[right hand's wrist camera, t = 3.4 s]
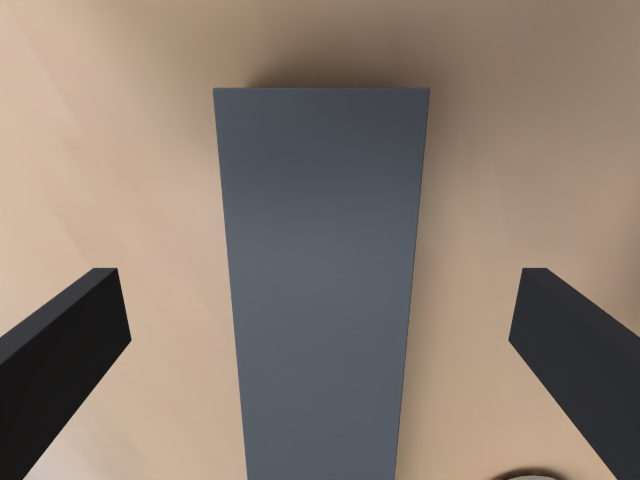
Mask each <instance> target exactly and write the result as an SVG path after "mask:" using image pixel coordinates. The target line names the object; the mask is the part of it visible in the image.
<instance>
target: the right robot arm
mask: <svg viewBox="0 0 640 480" xmlns="http://www.w3.org/2000/svg"><path fill="white" fill-rule="evenodd" d="M130 342H131V335H130V330H129V325H128V320H127V315H126V310H125V305H124V299H123V294H122V289H121V284H120V279H119V274H118V269H117V268H93V269H92V270H90V271H89V272H88V273H86V274H85V275H83V276H82V277H81V278H79V279H78V280H77V281H75V282H74V283H73V284H71V285H70V286H69V287H67V288H66V289H65V290H63V291H62V292H61V293H59V294H58V295H57V296H55V297H54V298H53V299H51V300H50V301H49V302H47V303H46V304H45V305H43V306H42V307H41V308H39V309H38V310H37V311H35V312H34V313H32V314H31V315H30V316H28V317H27V318H26V319H24V320H23V321H22V322H20V323H19V324H18V325H16V326H15V327H14V328H12V329H11V330H10V331H8V332H7V333H6V334H4V335H3V336H2V337H0V480H23V479H24V477H25V476H26V475H27V473H28V472H29V471H30V470H31V468H32V467H33V466H34V465H35V463H36V462H37V461H38V459H39V458H40V457H41V456H42V454H43V453H44V452H45V450H46V449H47V448H48V447H49V445H50V444H51V443H52V441H53V440H54V439H55V438H56V436H57V435H58V434H59V433H60V431H61V430H62V429H63V427H64V426H65V425H66V424H67V422H68V421H69V420H70V418H71V417H72V416H73V415H74V413H75V412H76V411H77V410H78V408H79V407H80V406H81V404H82V403H83V402H84V401H85V399H86V398H87V397H88V395H89V394H90V393H91V392H92V390H93V389H94V388H95V386H96V385H97V384H98V383H99V381H100V380H101V379H102V378H103V376H104V375H105V374H106V372H107V371H108V370H109V369H110V367H111V366H112V365H113V363H114V362H115V361H116V360H117V358H118V357H119V356H120V355H121V353H122V352H123V351H124V349H125V348H126V347H127V346H128V344H129V343H130ZM509 342H510V343H511V344H512V346H513V347H514V348H515V349H516V351H517V352H518V353H519V355H520V356H521V357H522V358H523V360H524V361H525V362H526V363H527V365H528V366H529V367H530V369H531V370H532V371H533V372H534V374H535V375H536V376H537V378H538V379H539V380H540V381H541V383H542V384H543V385H544V386H545V388H546V389H547V390H548V392H549V393H550V394H551V395H552V397H553V398H554V399H555V401H556V402H557V403H558V404H559V406H560V407H561V408H562V410H563V411H564V412H565V413H566V415H567V416H568V417H569V418H570V420H571V421H572V422H573V424H574V425H575V426H576V427H577V429H578V430H579V431H580V433H581V434H582V435H583V436H584V438H585V439H586V440H587V441H588V443H589V444H590V445H591V447H592V448H593V449H594V450H595V452H596V453H597V454H598V456H599V457H600V458H601V459H602V461H603V462H604V463H605V465H606V466H607V467H608V468H609V470H610V471H611V472H612V473H613V475H614V476H615V477H616V479H617V480H640V337H638V336H637V335H636V334H634V333H633V332H632V331H630V330H629V329H628V328H626V327H625V326H624V325H622V324H621V323H620V322H618V321H617V320H616V319H614V318H613V317H612V316H610V315H609V314H608V313H606V312H605V311H603V310H602V309H601V308H599V307H598V306H597V305H595V304H594V303H593V302H591V301H590V300H589V299H587V298H586V297H585V296H583V295H582V294H581V293H579V292H578V291H577V290H575V289H574V288H573V287H571V286H570V285H569V284H567V283H566V282H565V281H563V280H562V279H561V278H559V277H558V276H557V275H555V274H554V273H552V272H551V271H550V270H548V269H547V268H523V269H522V274H521V279H520V284H519V289H518V294H517V299H516V305H515V310H514V315H513V320H512V325H511V330H510V335H509Z"/></svg>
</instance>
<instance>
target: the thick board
mask: <svg viewBox="0 0 640 480" xmlns="http://www.w3.org/2000/svg"><path fill="white" fill-rule="evenodd" d="M429 93H430V88H213V97H214V108H215V119H216V131H217V142H218V153H219V164H220V175H221V187H222V198H223V209H224V220H225V232H226V243H227V254H228V265H229V276H230V288H231V299H232V310H233V321H234V333H235V344H236V355H237V366H238V377H239V389H240V400H241V411H242V422H243V433H244V445H245V456H246V467H247V478H248V480H394V476H395V465H396V454H397V443H398V432H399V421H400V410H401V399H402V388H403V378H404V367H405V356H406V345H407V334H408V323H409V312H410V301H411V290H412V279H413V268H414V257H415V246H416V235H417V224H418V213H419V202H420V191H421V180H422V169H423V159H424V148H425V137H426V126H427V115H428V104H429Z"/></svg>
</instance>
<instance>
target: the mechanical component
mask: <svg viewBox="0 0 640 480" xmlns="http://www.w3.org/2000/svg"><path fill="white" fill-rule="evenodd" d="M509 480H556V479H553V478H550V477H544V476H535V475H534V476H521V477H517V478H513V479H509Z"/></svg>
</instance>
